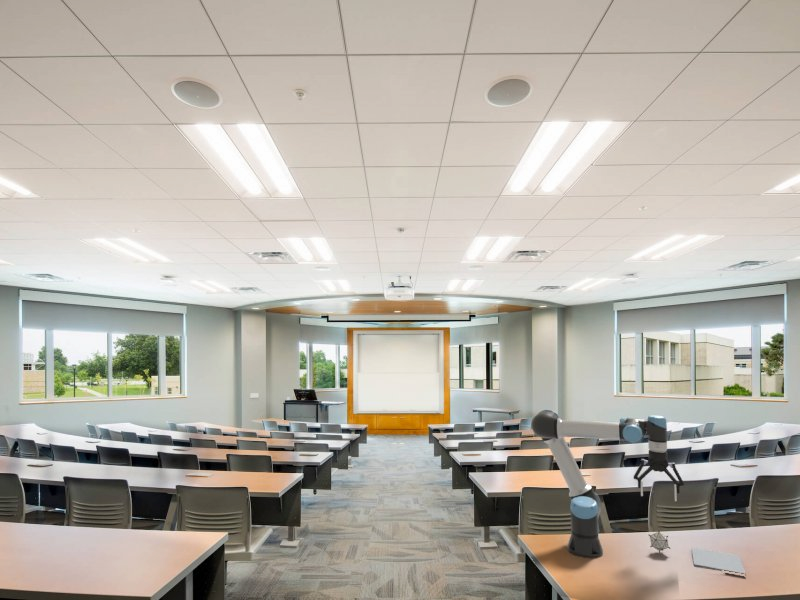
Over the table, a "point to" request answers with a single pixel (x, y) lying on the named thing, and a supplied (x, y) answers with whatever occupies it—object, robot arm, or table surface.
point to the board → (717, 560)
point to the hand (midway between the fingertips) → (658, 497)
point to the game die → (659, 541)
